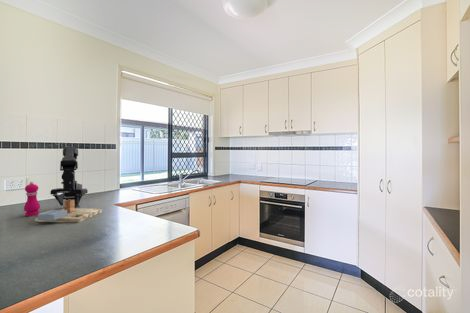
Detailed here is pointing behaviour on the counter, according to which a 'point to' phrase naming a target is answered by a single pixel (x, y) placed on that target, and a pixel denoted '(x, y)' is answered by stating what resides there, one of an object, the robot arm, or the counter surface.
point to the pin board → (75, 216)
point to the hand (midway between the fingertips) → (69, 205)
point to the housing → (52, 215)
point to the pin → (69, 205)
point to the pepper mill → (31, 200)
